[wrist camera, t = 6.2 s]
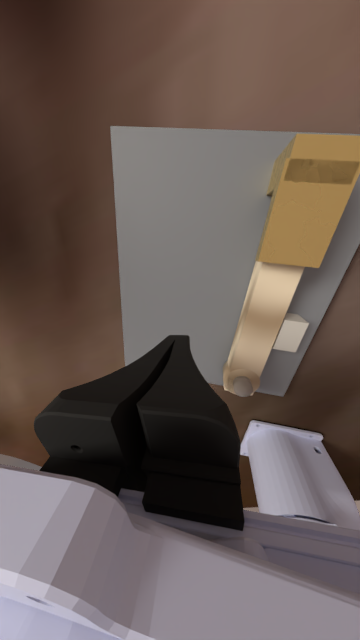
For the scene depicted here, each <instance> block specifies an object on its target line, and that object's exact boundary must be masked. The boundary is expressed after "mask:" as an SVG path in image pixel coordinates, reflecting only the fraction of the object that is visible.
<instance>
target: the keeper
mask: <svg viewBox="0 0 360 640" xmlns="http://www.w3.org/2000/svg"><path fill="white" fill-rule="evenodd" d="M359 174H360V136H354V135H324V134H296V135H295V137H294V138H293V139H292V140H291V141H290V143H289V144H288V145H287V146H286V148H285V149H284V150H283V151H282V153H281V154H280V155H279V156H278V158H277V159H276V160H275V162H274V166H273V170H272V174H271V178H270V182H269V186H268V190H267V194H266V195H270V196H272V198H271V202H270V206H269V210H268V213H267V217H266V221H265V225H264V228H263V232H262V236H261V240H260V243H259V247H258V251H257V255H256V258H255V261H258V262H267V263H276V264H286V265H295V266H304V267H313V268H319V267H320V265H321V262H322V260H323V258H324V255H325V253H326V251H327V248H328V246H329V244H330V241H331V239H332V237H333V234H334V232H335V230H336V227H337V225H338V223H339V220H340V218H341V216H342V213H343V211H344V209H345V206H346V204H347V202H348V199H349V197H350V195H351V192H352V190H353V188H354V186H355V183H356V181H357V179H358V176H359Z"/></svg>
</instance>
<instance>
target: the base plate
mask: <svg viewBox="0 0 360 640" xmlns="http://www.w3.org/2000/svg"><path fill="white" fill-rule="evenodd" d="M110 129H111V145H112V161H113V177H114V194H115V210H116V226H117V242H118V258H119V274H120V291H121V307H122V323H123V339H124V355H125V366H127V365H129V364H131V363H132V362H134V361H136V360H137V359H139V358H140V357H142V356H143V355H145V354H146V353H147V352H149V351H150V350H152V349H153V348H154V347H155V346H157V345H158V344H159V343H160V342H161V341H163V340H164V339H165V338H166V337H167V336H169V335H188V336H189V337H190V350H191V354H192V356H193V359H194V361H195V363H196V365H197V367H198V369H199V371H200V373H201V374H202V376H203V377H204V379H205V380H206V381H207V383H211V384H217V385H222V386H224V383H223V366H224V364H225V362H226V361H228V357H229V354H230V350H231V347H232V343H233V340H234V336H235V332H236V329H237V325H238V322H239V318H240V315H241V311H242V308H243V304H244V301H245V297H246V294H247V290H248V287H249V283H250V280H251V276H252V272H253V269H254V265H255V262H256V261H255V258H256V255H257V251H258V247H259V243H260V240H261V236H262V232H263V228H264V225H265V221H266V217H267V213H268V210H269V206H270V202H271V198H272V196H270V195H266V194H267V190H268V186H269V182H270V178H271V174H272V170H273V166H274V162H275V160H276V159H277V158H278V156H279V155H280V154H281V153H282V151H283V150H284V149H285V148H286V146H287V145H288V144H289V143H290V141H291V140H292V139H293V138H294V137H295V135H296V134H324V135H354V136H360V134H338V133H308V132H278V131H247V130H217V129H187V128H157V127H127V126H110ZM359 244H360V174H359V176H358V179H357V181H356V183H355V186H354V188H353V190H352V192H351V195H350V197H349V199H348V202H347V204H346V206H345V209H344V211H343V213H342V216H341V218H340V220H339V223H338V225H337V227H336V230H335V232H334V234H333V237H332V239H331V241H330V244H329V246H328V248H327V251H326V253H325V255H324V258H323V260H322V262H321V265H320V267H319V268H313V267H305V268H304V270H303V273H302V275H301V278H300V280H299V283H298V285H297V288H296V290H295V292H294V295H293V297H292V300H291V302H290V305H289V307H288V310H287V312H286V313H291V314H298V315H299V316H300V317H302V318H303V319H304V320H305V321H307V322H308V323H309V325H308V327H307V329H306V331H305V333H304V335H303V338H302V340H301V342H300V344H299V346H298V348H297V350H296V352H290V351H283V350H277V349H273V348H272V349H271V351H270V354H269V356H268V359H267V361H266V363H265V366H264V368H263V371H262V373H261V376H260V378H259V379H260V386H259V388H258V389H257V390H256V391H255V392H261V393H266V394H271V395H277V396H282V397H283V396H284V394H285V392H286V390H287V388H288V386H289V384H290V382H291V380H292V378H293V376H294V374H295V372H296V370H297V368H298V366H299V364H300V362H301V360H302V358H303V356H304V354H305V352H306V350H307V348H308V346H309V344H310V342H311V340H312V338H313V336H314V334H315V332H316V330H317V328H318V326H319V324H320V322H321V320H322V318H323V316H324V314H325V312H326V310H327V308H328V306H329V304H330V302H331V300H332V298H333V296H334V294H335V292H336V290H337V288H338V286H339V284H340V282H341V280H342V278H343V276H344V274H345V272H346V270H347V268H348V266H349V264H350V262H351V260H352V258H353V256H354V254H355V252H356V250H357V248H358V246H359Z"/></svg>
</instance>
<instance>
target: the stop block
mask: <svg viewBox="0 0 360 640" xmlns="http://www.w3.org/2000/svg"><path fill="white" fill-rule="evenodd" d="M308 325H309V323H308V322H307V321H305V320H304V319H303V318H302V317H300V316H299V315H298V314H291V313H286V314H285V317H284V319H283V322H282V324H281V327H280V329H279V332H278V334H277V336H276V339H275V341H274V344H273V346H272V348H273V349H277V350H283V351H290V352H296V350H297V348H298V346H299V344H300V342H301V340H302V338H303V335H304V333H305V331H306V329H307V327H308Z"/></svg>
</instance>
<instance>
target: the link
mask: <svg viewBox="0 0 360 640" xmlns="http://www.w3.org/2000/svg"><path fill="white" fill-rule="evenodd" d="M304 268H305V267H304V266H295V265H286V264H276V263H267V262H258V261H256V262H255V265H254V269H253V272H252V276H251V280H250V283H249V287H248V290H247V294H246V297H245V301H244V304H243V308H242V311H241V315H240V318H239V322H238V325H237V329H236V332H235V336H234V340H233V343H232V347H231V350H230V354H229V357H228V361H226V362H225V364H224V366H223V383H224V390H226V391H229V392H231V393H233V394H236V395H238V396H241V397H247V396H249V395H251V396H252V395H253V393H254V392H255V391H256V390H257V389H258V388H259V386H260V379H259V378H260V376H261V373H262V371H263V368H264V366H265V363H266V361H267V359H268V356H269V354H270V351H271V349H272V346H273V344H274V341H275V339H276V336H277V334H278V332H279V329H280V327H281V324H282V322H283V319H284V317H285V314H286V312H287V310H288V307H289V305H290V302H291V300H292V297H293V295H294V292H295V290H296V288H297V285H298V283H299V280H300V278H301V275H302V273H303V270H304Z"/></svg>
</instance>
